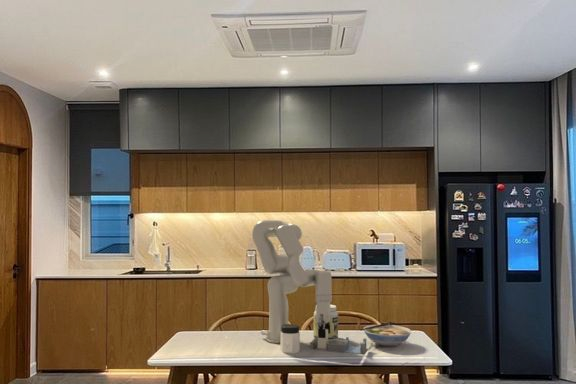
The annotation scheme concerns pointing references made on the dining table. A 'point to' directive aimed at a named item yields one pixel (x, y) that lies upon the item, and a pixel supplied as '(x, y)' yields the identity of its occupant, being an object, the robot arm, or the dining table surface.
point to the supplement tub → (333, 324)
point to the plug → (323, 341)
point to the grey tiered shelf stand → (340, 346)
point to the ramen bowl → (387, 334)
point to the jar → (290, 338)
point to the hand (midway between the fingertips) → (324, 335)
